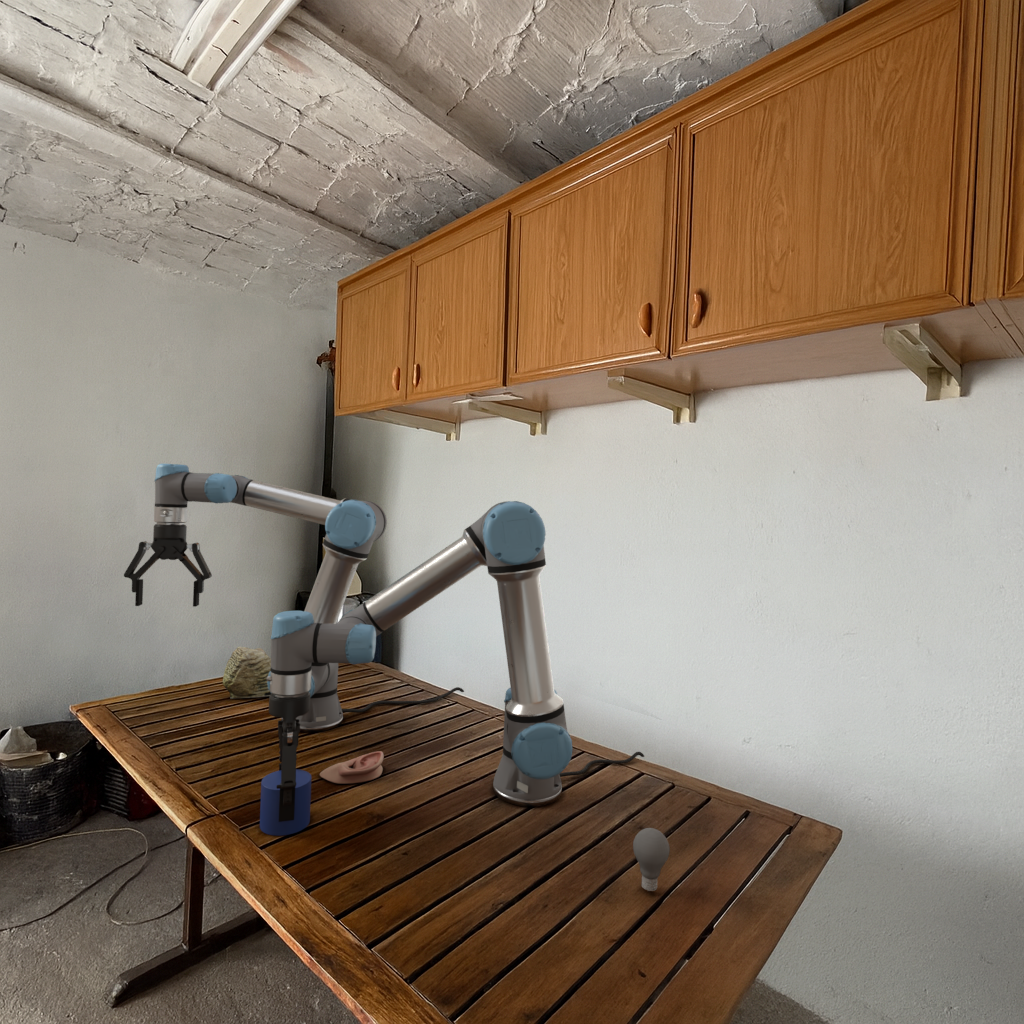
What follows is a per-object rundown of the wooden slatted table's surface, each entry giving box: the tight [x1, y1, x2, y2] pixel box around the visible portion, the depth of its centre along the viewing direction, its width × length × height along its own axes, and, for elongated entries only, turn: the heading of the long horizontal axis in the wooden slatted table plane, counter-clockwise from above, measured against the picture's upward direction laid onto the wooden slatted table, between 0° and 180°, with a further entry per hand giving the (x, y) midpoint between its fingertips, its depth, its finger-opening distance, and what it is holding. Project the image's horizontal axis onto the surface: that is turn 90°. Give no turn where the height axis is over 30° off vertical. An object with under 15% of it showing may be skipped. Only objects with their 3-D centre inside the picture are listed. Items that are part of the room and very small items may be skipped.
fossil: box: [222, 646, 271, 699], centre depth 198 cm, size 9×18×15 cm, turn 132°
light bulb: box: [632, 827, 671, 892], centre depth 106 cm, size 6×6×10 cm
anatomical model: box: [319, 750, 385, 785], centre depth 145 cm, size 13×4×12 cm
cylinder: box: [259, 768, 312, 837], centre depth 122 cm, size 9×9×9 cm
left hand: (167, 605), depth 164 cm, fingers open, 13 cm apart
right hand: (285, 807), depth 123 cm, fingers open, 9 cm apart
